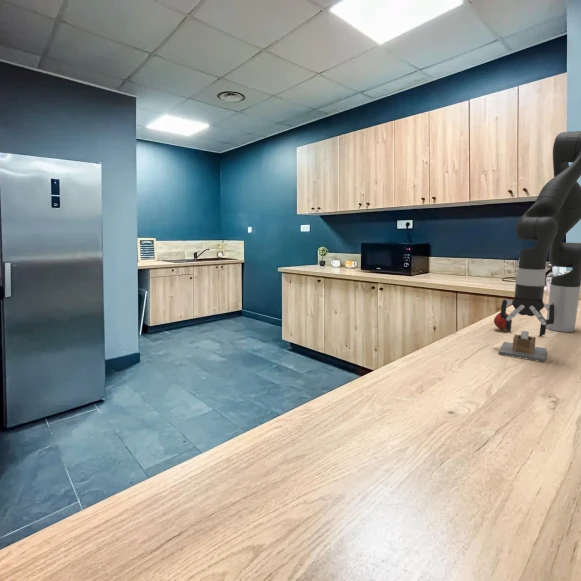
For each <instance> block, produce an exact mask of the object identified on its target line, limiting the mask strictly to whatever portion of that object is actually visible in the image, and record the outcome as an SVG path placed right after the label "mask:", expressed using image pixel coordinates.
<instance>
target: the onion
mask: <svg viewBox="0 0 581 581" xmlns="http://www.w3.org/2000/svg"><path fill="white" fill-rule="evenodd" d="M500 313H501V312H499V313H498V314H496V315H495V316H494V319H493V323H494V325H495V326H496V328H498V329H499V330H500V331H505V330H506V319H504V318H501V317H500ZM506 315H509V314H508V313H507V312H506Z"/></svg>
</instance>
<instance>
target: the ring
mask: <svg viewBox="0 0 581 581" xmlns="http://www.w3.org/2000/svg"><path fill="white" fill-rule="evenodd" d="M513 336H514V337H513V340H512V343H513V348H512V351H517V352H523V353H529V354H533V353H534V349H535V347H536V338H537V337H536V336H531V335H528V340H527V339H521V334H516V333H515V334H514V335H513Z"/></svg>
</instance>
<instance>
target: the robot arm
mask: <svg viewBox="0 0 581 581" xmlns="http://www.w3.org/2000/svg"><path fill="white" fill-rule="evenodd" d="M569 163H571V164H569ZM552 167H553V168H552V170H553V178H551V179H550V180H548V181H547V182H546V184H544V186H543V187H542V188H541V189H540V192H539V194H538V196H537V198H536V199H535V201H534V203H533V204H532V205H531V206H530V207H529V209H527V211H526V212H524V213H523V215H522V216H521V217H520V218H519V219H518V221H517V223H516V226H515V233H514V234H515V236H516V237H517V239H519V240H522V241H531V242H532V241H533V242H536V244H535V245H534V246H533V247H530V248H528V247H527V248H524V249H522V250H521V251H520V252H519V257H518V258H519V259H518V267H517V268H518V269H517V272H516V278H515V286H514V287H515V288H514V289H515V290H514V298H513V300H511V299H507V298H503V300H502V301H501V302H502V303H501V308H500V312H499V313H500V317H501V318H504V319H506V329H505V330H506V331H507V333H511V332H512V331H511V330H512V325H513V324H512V323H513V322H512V321H513V320H512V319H513V318H514V317H515V316H517V315H520V316H529V317H536V319H537V320H538V321H539V322H540V328H539V337H541V338H542V337H543V336H545V335H546V330H547V329H548V330H550V331H555V332H561V333H562V332H564V333H572V332H575V329H576V322H577V314H578V308H579V300H580V292H581V242H562V241H563V239H564V237H565V236H566V235H567V234H568V232H570V230H572V229H573V228H574V226H576V225H577V224H578V223H579V222H580V221H581V185H580V184H579V182H578V180H579V179H580V178H581V130H578V131H577V130H576V131H575V130H572V131H564V132H563V131H562V132H559V133H558V134H557V135H556V137H555V138H554V142H553V147H552ZM548 254H549V255H548ZM548 256H549V258H547V257H548ZM548 259H549V264H550V265H551V267H552V266H553V267H556V268H557V267H558V268H571V270H570V271H569V272H566V273H563V274H560V275H554V276H552V277H551V280H550V286H549V295H548V303H544V292H545V284H546V267H547V260H548ZM511 304H512V306H513V307H514V310H513V311H512V312H510V313H509V314H508V315H506V313H507V308H508V307H509V306H510V305H511ZM544 308H545V309H546V311H547V314H546V319H545V317H544V315H543V314H542V312H541V310H543V309H544Z"/></svg>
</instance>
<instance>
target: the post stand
mask: <svg viewBox="0 0 581 581" xmlns="http://www.w3.org/2000/svg"><path fill="white" fill-rule="evenodd" d="M529 333H530V332H529V331H528V330H521V332H520V335H521V339H527V340H528V336H530V335H529ZM512 348H513V342H510V341H509V342H508V341H504V342H502V345H501V346H500V349H499V350H498V355H499V354H502V355H501V356H505V355H507V356H506V357H511V356H514V357H513V358H516V357H521V358H520V359H522V358H527V359H526V360H528V359H532V360H531V361H534V360H538V361H537V362H539V361H542V362H541V363H545V361H546V355H547V347H540V346H535V349H534V353H533V354H529V353H523V352H517V351H512Z"/></svg>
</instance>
